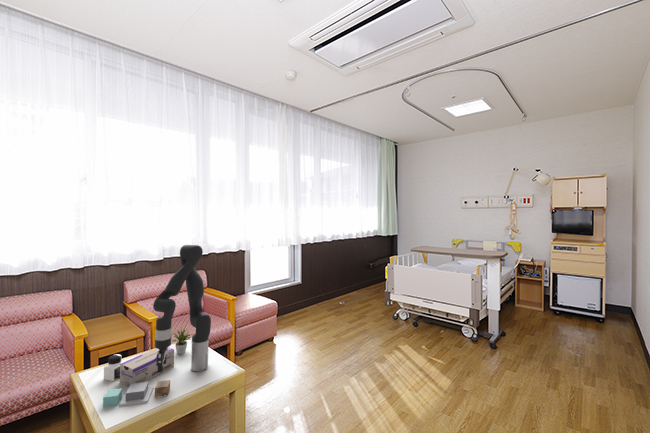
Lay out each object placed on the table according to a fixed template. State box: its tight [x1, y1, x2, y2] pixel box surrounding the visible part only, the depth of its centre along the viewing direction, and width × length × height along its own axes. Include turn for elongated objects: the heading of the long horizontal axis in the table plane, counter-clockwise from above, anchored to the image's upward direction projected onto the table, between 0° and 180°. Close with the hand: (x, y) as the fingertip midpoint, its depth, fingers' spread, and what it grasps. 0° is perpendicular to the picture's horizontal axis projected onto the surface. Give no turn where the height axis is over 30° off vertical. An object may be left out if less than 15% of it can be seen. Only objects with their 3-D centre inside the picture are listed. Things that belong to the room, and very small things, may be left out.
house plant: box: [172, 326, 193, 355], centre depth 196 cm, size 14×14×16 cm
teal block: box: [102, 388, 123, 408], centre depth 147 cm, size 6×6×5 cm
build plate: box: [118, 381, 155, 407], centre depth 152 cm, size 12×12×5 cm
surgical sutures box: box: [119, 346, 175, 388], centre depth 172 cm, size 25×11×11 cm, turn 155°
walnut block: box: [154, 379, 171, 398], centre depth 156 cm, size 6×6×5 cm
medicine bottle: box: [103, 353, 124, 382], centre depth 168 cm, size 7×7×12 cm
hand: (162, 367), depth 155 cm, fingers open, 8 cm apart
